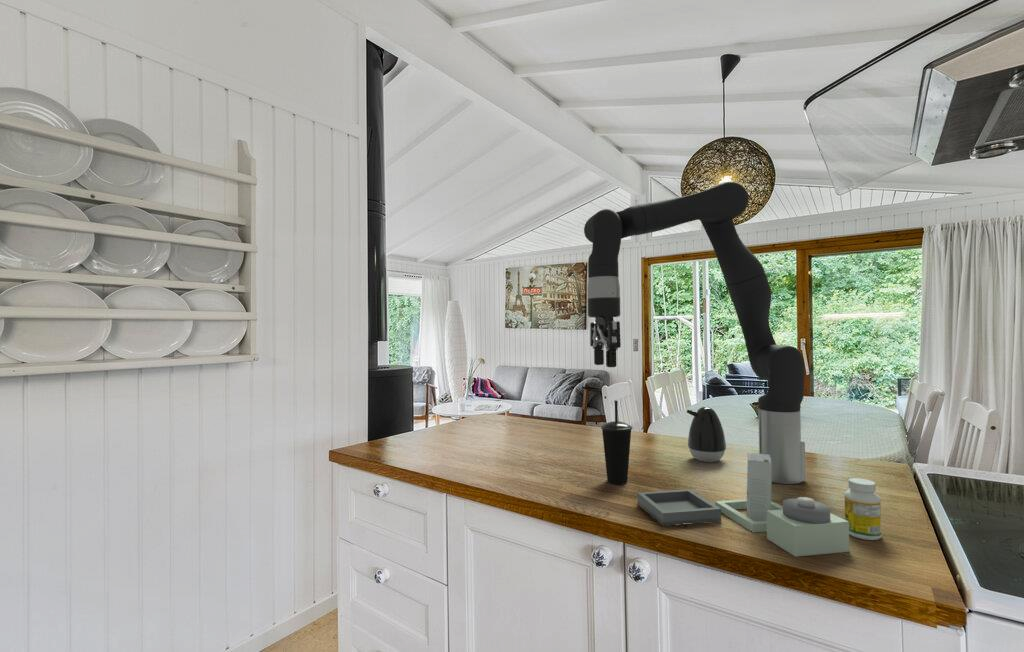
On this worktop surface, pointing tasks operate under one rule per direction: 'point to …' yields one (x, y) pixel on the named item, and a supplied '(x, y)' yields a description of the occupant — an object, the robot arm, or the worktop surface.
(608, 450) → the drinking cup
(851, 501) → the supplement bottle
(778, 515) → the soap dish box
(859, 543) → the worktop surface
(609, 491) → the worktop surface
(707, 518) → the tray
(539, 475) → the worktop surface
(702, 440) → the pump dispenser
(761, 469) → the skincare box
